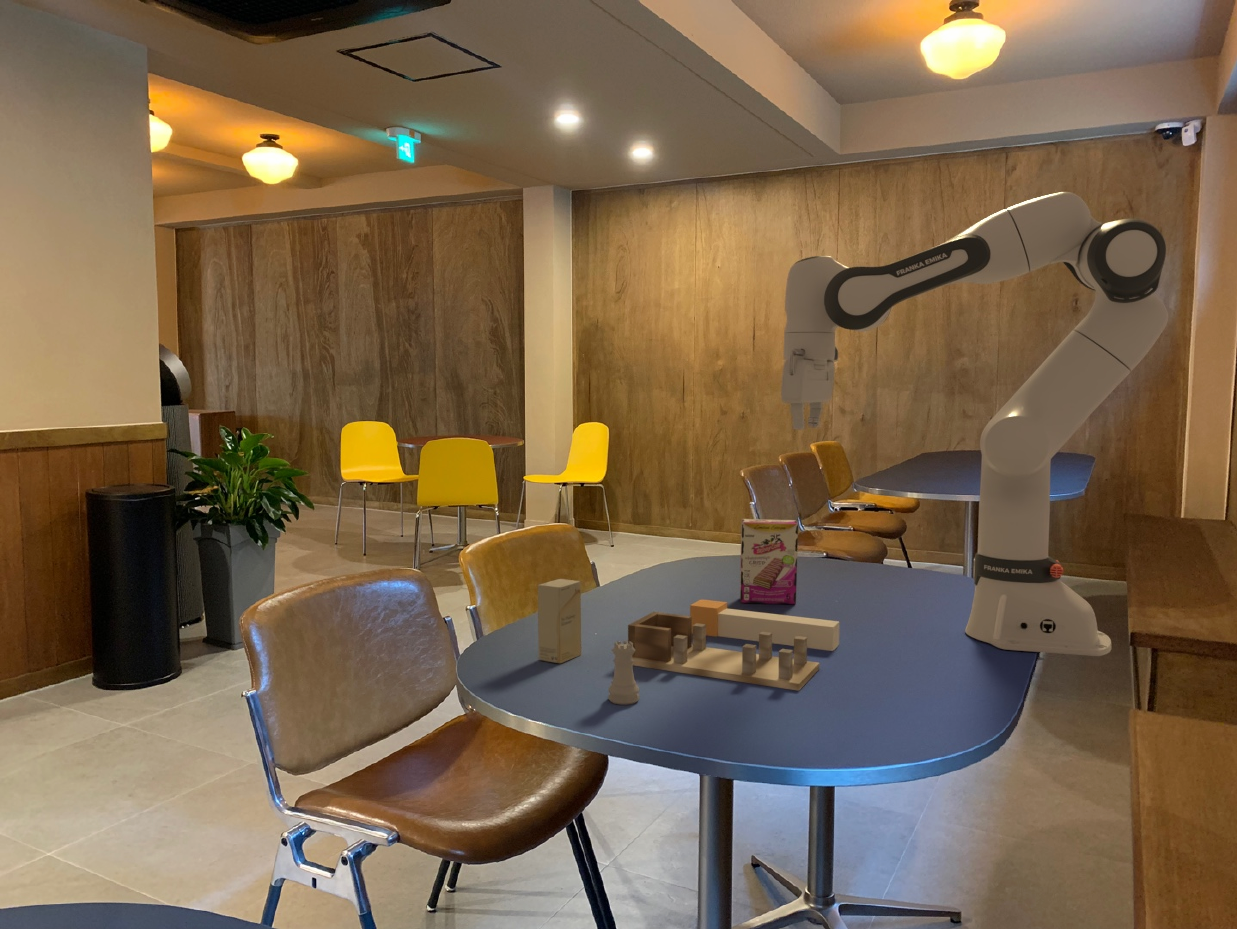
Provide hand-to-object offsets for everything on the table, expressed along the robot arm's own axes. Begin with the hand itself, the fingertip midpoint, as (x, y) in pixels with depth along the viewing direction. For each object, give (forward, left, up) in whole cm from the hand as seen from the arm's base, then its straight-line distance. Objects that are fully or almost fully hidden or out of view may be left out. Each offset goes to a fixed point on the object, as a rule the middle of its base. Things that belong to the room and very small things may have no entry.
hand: (806, 428), depth 161 cm
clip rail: (+5, +30, -36) cm, 47 cm away
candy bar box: (+11, -14, -36) cm, 40 cm away
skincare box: (+29, +37, -36) cm, 59 cm away
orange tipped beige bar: (+4, +12, -36) cm, 38 cm away
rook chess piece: (+11, +50, -36) cm, 63 cm away
